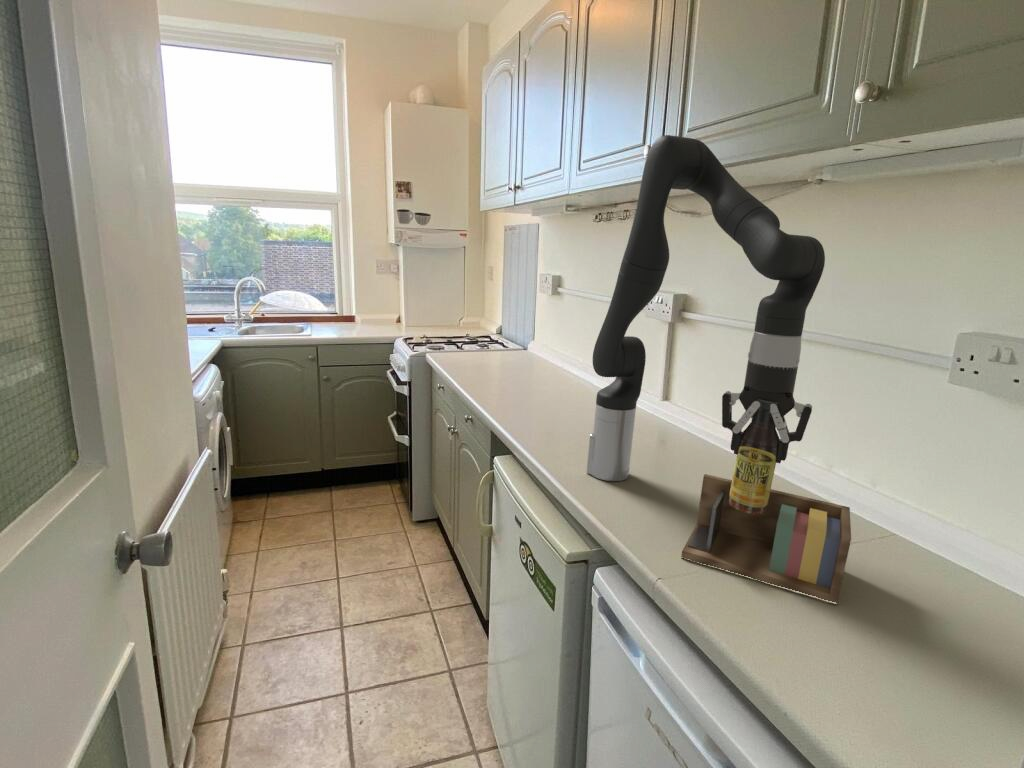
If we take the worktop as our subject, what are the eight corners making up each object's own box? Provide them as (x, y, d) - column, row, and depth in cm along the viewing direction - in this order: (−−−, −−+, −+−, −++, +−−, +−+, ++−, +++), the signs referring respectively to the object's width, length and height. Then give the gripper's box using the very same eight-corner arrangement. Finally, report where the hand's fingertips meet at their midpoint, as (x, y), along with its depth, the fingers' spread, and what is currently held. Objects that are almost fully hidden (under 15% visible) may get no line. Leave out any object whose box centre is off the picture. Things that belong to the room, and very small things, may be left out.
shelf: (681, 558, 99) (689, 497, 96) (696, 528, 110) (704, 474, 107) (836, 605, 88) (851, 538, 85) (836, 567, 99) (849, 507, 96)
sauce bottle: (723, 509, 97) (740, 398, 93) (732, 497, 102) (748, 391, 98) (764, 520, 94) (783, 406, 89) (771, 507, 99) (789, 398, 94)
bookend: (687, 546, 100) (693, 502, 98) (698, 526, 108) (704, 485, 106) (709, 552, 98) (716, 508, 96) (718, 532, 106) (725, 490, 104)
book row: (768, 570, 94) (777, 520, 92) (774, 547, 101) (782, 501, 99) (830, 588, 89) (840, 536, 87) (830, 562, 97) (840, 515, 95)
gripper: (823, 363, 92) (805, 460, 96) (730, 352, 98) (717, 442, 102) (822, 371, 85) (802, 474, 89) (723, 357, 92) (709, 454, 96)
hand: (757, 457), depth 96 cm, fingers closed on sauce bottle, 6 cm apart
